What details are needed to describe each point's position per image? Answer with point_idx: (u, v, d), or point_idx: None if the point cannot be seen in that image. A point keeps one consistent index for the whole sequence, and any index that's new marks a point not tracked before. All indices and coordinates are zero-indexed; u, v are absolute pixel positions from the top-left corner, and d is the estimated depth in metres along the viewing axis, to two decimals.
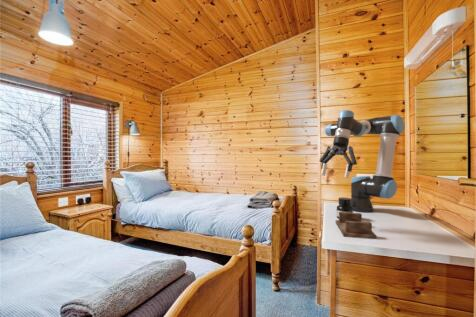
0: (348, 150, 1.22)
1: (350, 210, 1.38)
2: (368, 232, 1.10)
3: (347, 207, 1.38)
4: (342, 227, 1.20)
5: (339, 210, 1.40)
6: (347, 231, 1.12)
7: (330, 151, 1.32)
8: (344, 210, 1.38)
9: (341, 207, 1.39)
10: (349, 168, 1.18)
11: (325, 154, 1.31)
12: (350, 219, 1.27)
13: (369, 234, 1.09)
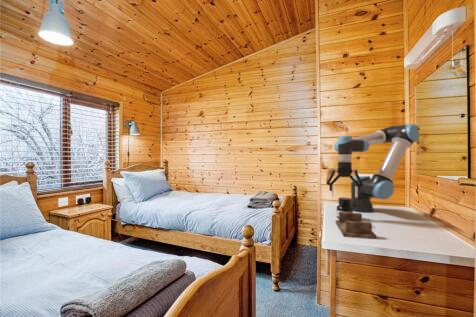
0: (354, 173, 1.39)
1: (350, 210, 1.38)
2: (368, 232, 1.10)
3: (347, 207, 1.38)
4: (342, 227, 1.20)
5: (339, 210, 1.40)
6: (347, 231, 1.12)
7: None
8: (344, 210, 1.38)
9: (341, 207, 1.39)
10: (358, 189, 1.39)
11: (332, 177, 1.42)
12: (350, 219, 1.27)
13: (369, 234, 1.09)
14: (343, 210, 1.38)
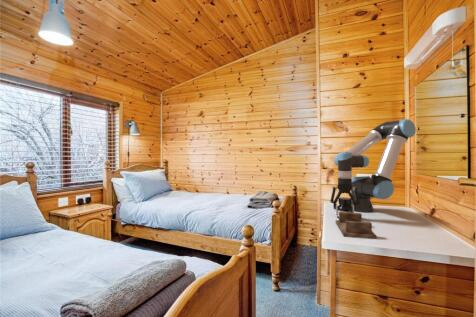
0: (353, 190, 1.40)
1: (350, 210, 1.38)
2: (368, 232, 1.10)
3: (347, 207, 1.38)
4: (342, 227, 1.20)
5: (339, 210, 1.40)
6: (347, 231, 1.12)
7: (334, 190, 1.44)
8: (344, 210, 1.38)
9: (341, 207, 1.39)
10: (355, 208, 1.40)
11: (334, 195, 1.42)
12: (350, 219, 1.27)
13: (369, 234, 1.09)
14: (343, 210, 1.38)
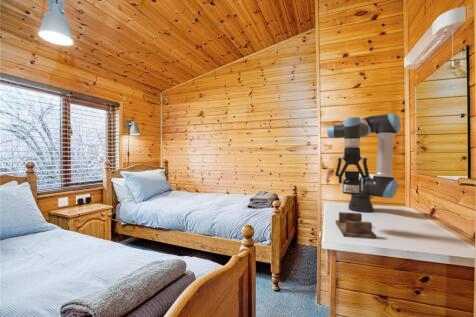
0: (362, 161, 1.21)
1: (358, 183, 1.19)
2: (368, 232, 1.10)
3: (355, 180, 1.19)
4: (342, 227, 1.20)
5: (345, 184, 1.21)
6: (347, 231, 1.12)
7: None
8: (351, 183, 1.19)
9: (348, 180, 1.21)
10: (363, 181, 1.21)
11: None
12: (350, 219, 1.27)
13: (369, 234, 1.09)
14: (350, 183, 1.19)
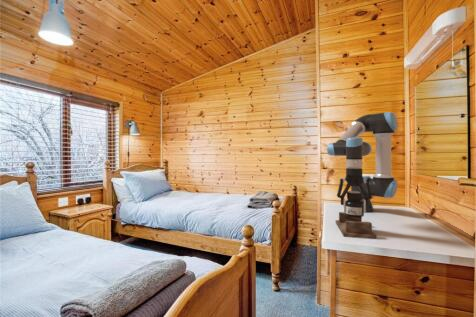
0: (364, 182, 1.18)
1: (361, 206, 1.16)
2: (368, 232, 1.10)
3: (357, 202, 1.16)
4: (342, 227, 1.20)
5: (348, 206, 1.18)
6: (347, 231, 1.12)
7: None
8: (354, 206, 1.16)
9: (350, 202, 1.18)
10: (366, 203, 1.18)
11: (341, 188, 1.20)
12: (350, 219, 1.27)
13: (369, 234, 1.09)
14: (353, 206, 1.16)
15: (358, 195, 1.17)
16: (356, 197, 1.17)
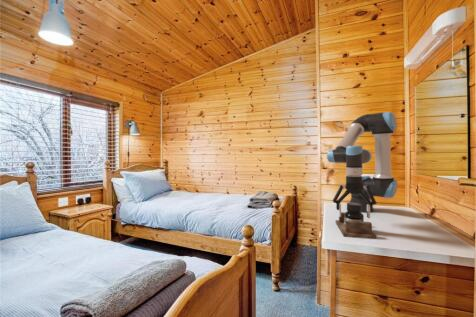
0: (365, 189, 1.18)
1: (361, 218, 1.16)
2: (368, 232, 1.10)
3: (357, 214, 1.17)
4: (342, 227, 1.20)
5: (347, 218, 1.18)
6: (347, 231, 1.12)
7: None
8: (354, 218, 1.16)
9: (350, 214, 1.18)
10: (371, 208, 1.18)
11: (339, 194, 1.20)
12: None
13: (369, 234, 1.09)
14: (352, 218, 1.17)
15: (358, 207, 1.17)
16: (356, 209, 1.17)
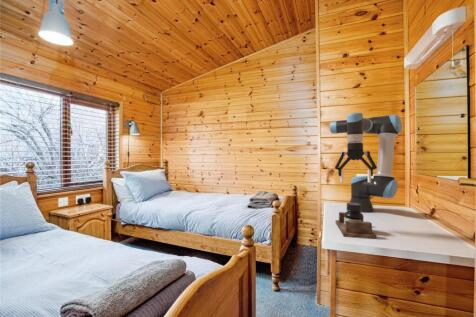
0: (366, 155, 1.23)
1: (361, 218, 1.16)
2: (368, 232, 1.10)
3: (357, 214, 1.17)
4: (342, 227, 1.20)
5: (347, 218, 1.18)
6: (347, 231, 1.12)
7: None
8: (353, 218, 1.16)
9: (350, 214, 1.18)
10: (371, 173, 1.23)
11: None
12: None
13: (369, 234, 1.09)
14: (352, 218, 1.17)
15: (358, 207, 1.17)
16: (356, 209, 1.17)
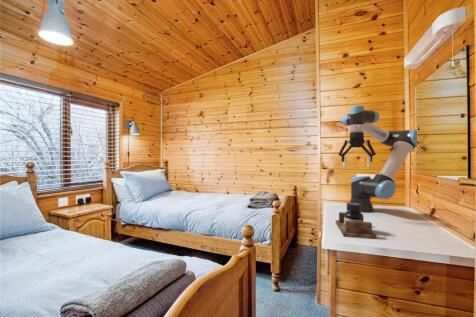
0: (366, 143, 1.39)
1: (361, 218, 1.16)
2: (368, 232, 1.10)
3: (357, 214, 1.17)
4: (342, 227, 1.20)
5: (347, 218, 1.18)
6: (347, 231, 1.12)
7: None
8: (353, 218, 1.16)
9: (350, 214, 1.18)
10: (371, 159, 1.39)
11: None
12: None
13: (369, 234, 1.09)
14: (352, 218, 1.17)
15: (358, 207, 1.17)
16: (356, 209, 1.17)
